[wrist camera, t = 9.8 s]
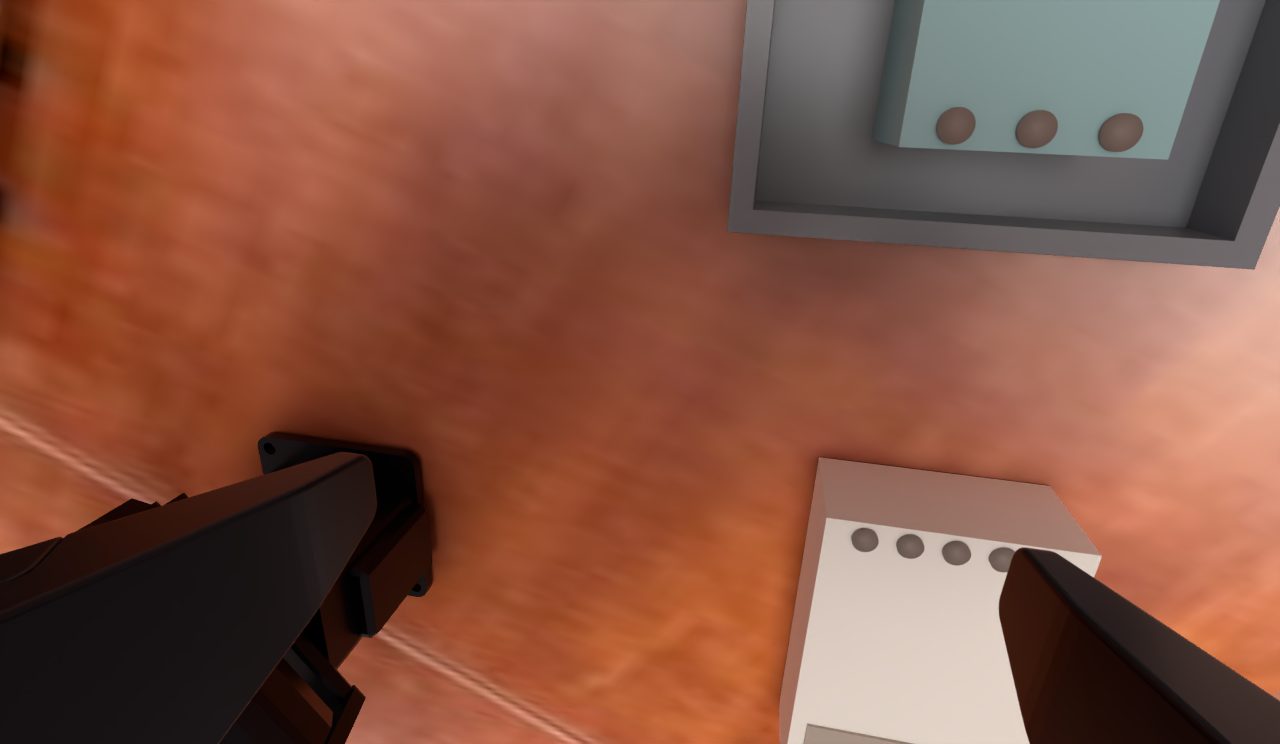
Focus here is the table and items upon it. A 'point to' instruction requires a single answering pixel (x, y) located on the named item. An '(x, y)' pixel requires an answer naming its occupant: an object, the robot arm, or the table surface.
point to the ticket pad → (912, 605)
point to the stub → (1041, 75)
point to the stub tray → (998, 153)
